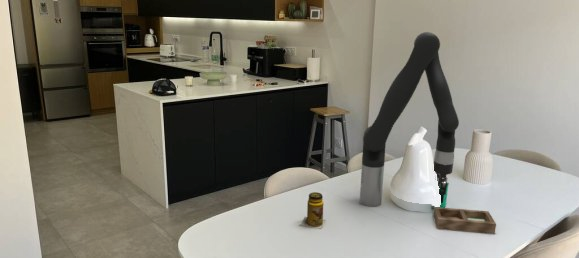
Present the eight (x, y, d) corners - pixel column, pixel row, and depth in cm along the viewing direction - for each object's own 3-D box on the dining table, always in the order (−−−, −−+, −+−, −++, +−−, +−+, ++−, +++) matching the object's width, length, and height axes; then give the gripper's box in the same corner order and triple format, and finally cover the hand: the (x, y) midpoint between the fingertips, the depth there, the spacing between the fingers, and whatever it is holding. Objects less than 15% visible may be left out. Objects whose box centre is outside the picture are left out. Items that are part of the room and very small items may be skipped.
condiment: (321, 228, 165) (322, 199, 162) (299, 225, 168) (300, 196, 165) (325, 220, 172) (326, 192, 169) (304, 217, 175) (305, 189, 171)
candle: (446, 209, 180) (450, 182, 177) (431, 208, 181) (434, 180, 178) (444, 203, 186) (448, 177, 183) (429, 202, 187) (432, 175, 184)
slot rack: (437, 228, 166) (438, 219, 165) (433, 216, 177) (434, 206, 176) (494, 233, 163) (496, 224, 162) (487, 220, 174) (488, 211, 173)
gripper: (431, 154, 186) (427, 192, 190) (436, 165, 172) (431, 205, 176) (450, 156, 184) (445, 193, 189) (456, 167, 171) (451, 207, 175)
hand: (438, 199), depth 183 cm, fingers closed on candle, 5 cm apart
